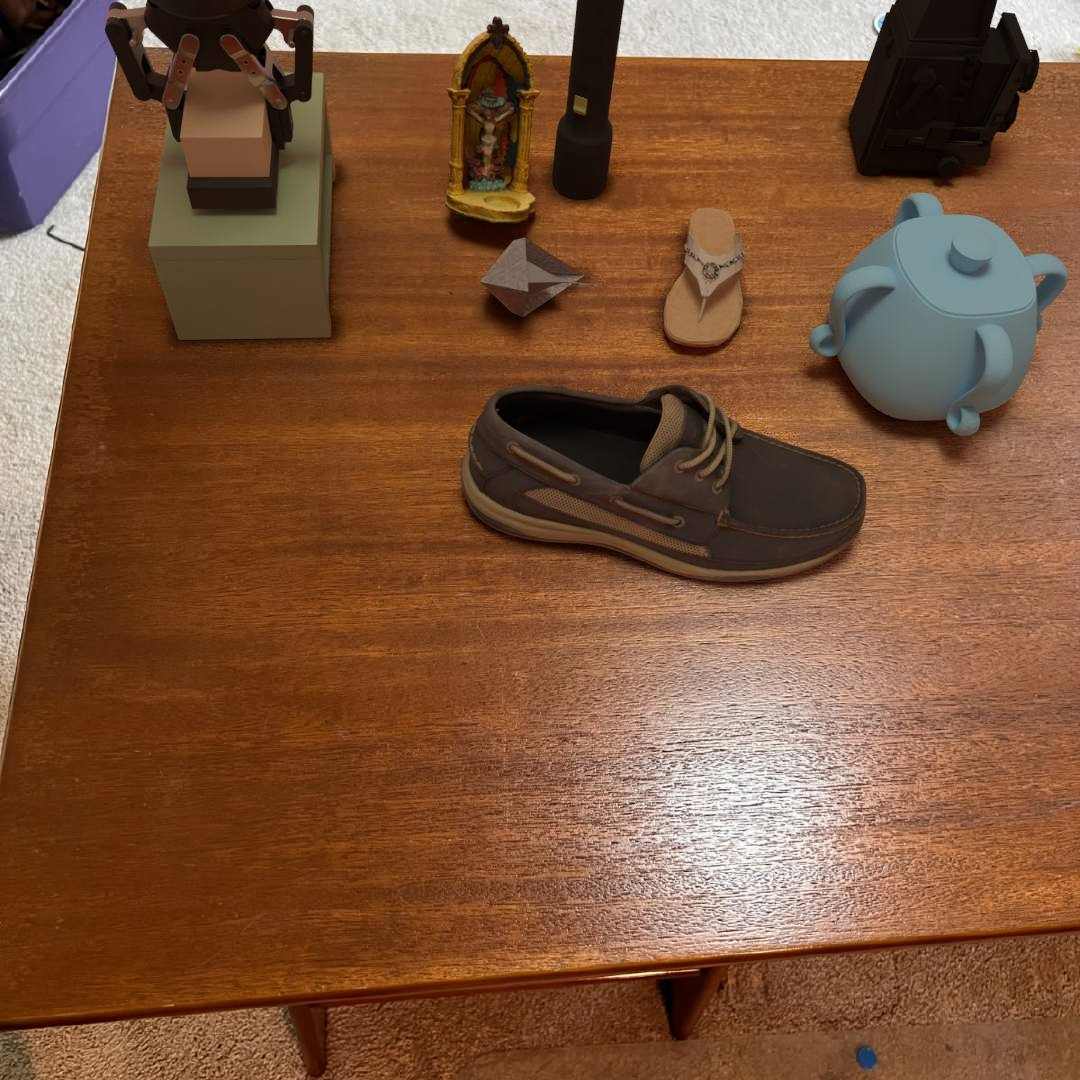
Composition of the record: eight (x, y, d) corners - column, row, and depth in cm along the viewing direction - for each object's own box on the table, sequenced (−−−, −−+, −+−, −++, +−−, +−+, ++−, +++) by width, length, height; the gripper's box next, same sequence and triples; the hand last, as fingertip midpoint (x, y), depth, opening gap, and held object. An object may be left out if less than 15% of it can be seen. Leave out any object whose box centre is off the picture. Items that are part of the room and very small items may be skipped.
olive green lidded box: (331, 337, 87) (317, 244, 79) (178, 340, 86) (147, 245, 77) (335, 170, 97) (323, 72, 89) (199, 171, 96) (174, 71, 88)
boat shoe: (858, 598, 77) (911, 517, 68) (451, 563, 77) (450, 477, 68) (845, 474, 83) (892, 385, 74) (466, 441, 83) (467, 346, 73)
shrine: (444, 162, 99) (442, 9, 86) (532, 164, 100) (543, 11, 87) (445, 252, 93) (443, 101, 80) (539, 252, 94) (552, 103, 81)
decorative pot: (772, 363, 89) (819, 237, 77) (879, 265, 95) (937, 136, 84) (940, 479, 84) (1017, 363, 72) (1041, 367, 90) (1126, 245, 79)
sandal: (660, 353, 88) (671, 310, 84) (665, 221, 97) (674, 176, 92) (741, 362, 89) (755, 319, 84) (738, 229, 97) (751, 184, 92)
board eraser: (275, 209, 79) (264, 146, 75) (191, 209, 79) (175, 146, 74) (283, 88, 86) (273, 24, 82) (207, 87, 86) (192, 23, 81)
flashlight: (566, 156, 100) (542, 187, 98) (594, -112, 80) (564, -81, 78) (615, 175, 100) (591, 207, 97) (656, -91, 79) (627, -59, 77)
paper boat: (519, 227, 93) (619, 235, 90) (517, 302, 96) (615, 313, 93) (455, 241, 83) (566, 251, 80) (455, 325, 86) (562, 338, 82)
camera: (997, 191, 102) (1106, -13, 85) (856, 183, 101) (937, -24, 84) (975, 122, 107) (1073, -83, 90) (840, 114, 106) (914, -94, 89)
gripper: (59, -52, 64) (132, 177, 79) (305, -47, 66) (332, 176, 80) (77, -119, 68) (144, 110, 82) (308, -114, 69) (334, 111, 84)
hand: (236, 142), depth 81 cm, fingers closed on board eraser, 6 cm apart
